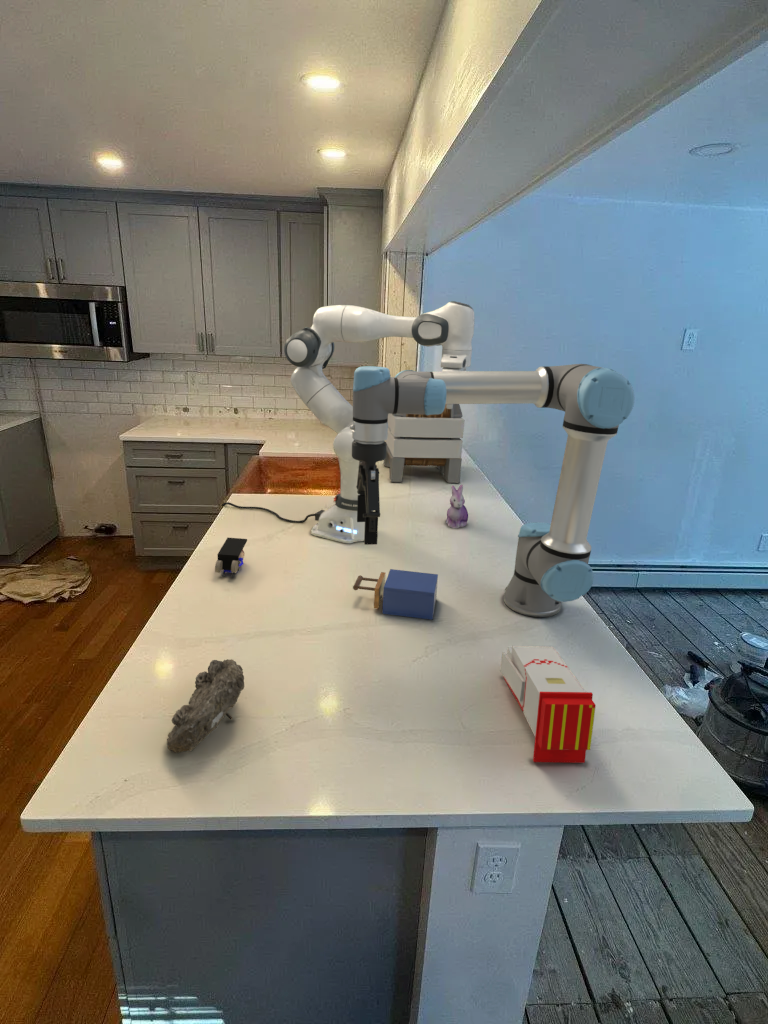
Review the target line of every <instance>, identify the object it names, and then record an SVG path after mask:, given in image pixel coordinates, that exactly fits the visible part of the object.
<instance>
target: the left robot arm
mask: <svg viewBox="0 0 768 1024" xmlns="http://www.w3.org/2000/svg"><path fill="white" fill-rule="evenodd" d="M474 334H475V310H474V308H473V307H472V306H471V305H470V304H467V303H463V302H461V301H460V302H459V301H455V300H451V301H449V302H447V303H446V304H445V305H443V306H441V307H438V308H436V309H434V310H431V311H427V312H424V313H421V314H419V315H418V316H404V315H403V316H402V315H392V314H388V313H384V312H380V311H377V310H374V309H372V308H367V307H363V306H359V305H352V304H332V305H325V306H321V307H319V308H317V309H316V311H314V313H313V317H312V325H311V326H310V327H309V326H305V327H303V328H301V329H299V330H298V331H296V332H295V333H293V334H291V335H290V336H289V337H288V338H287V339H286V341H285V343H284V347H283V351H284V356H285V358H286V360H287V361H288V362H289V363H290V365H293V366H295V367H296V368H295V369H294V370H293V371H292V373H291V375H290V384H291V386H292V388H293V389H294V391H295V392H296V394H297V396H298V397H299V398H300V400H301V401H302V402H303V404H304V405H305V406H306V407H307V408H308V410H309V411H310V412H311V413H312V414H313V415H314V417H316V419H317V420H318V421H319V422H320V423H321V424H322V425H323V426H325V427H327V428H329V429H330V430H332V431H334V432H335V433H336V436H335V437H334V439H333V443H332V446H333V447H332V449H333V451H334V454H335V455H336V457H337V462H338V466H339V473H340V490H339V491H338V492H337V494H336V495H335V496H334V497H333V502H334V504H333V505H331V506H329V507H328V508H326V509H321V510H318V511H317V512H315V513H310V514H307V515H306V516H305V517H304V519H302V520H292V519H288V518H284V517H282V516H280V515H279V514H278V513H277V512H275V511H274V510H271V509H269V508H266V507H262V506H242V505H241V506H240V505H237V504H234V503H232V502H229V501H228V502H227V501H226V502H223V503H222V504H221V506H222V507H225V506H226V505H228V506H231V507H233V508H235V509H241V510H259V511H265V512H269V513H270V514H273V515H275V516H276V518H278V519H279V520H281V521H283V522H287V523H293V524H303V523H306V522H307V521H308V519H309V518H311V517H314V521H316V522H317V523H315V524H314V525H313V526H312V528H311V530H310V533H311V536H315V537H319V538H323V539H326V540H330V541H336V542H339V543H343V544H352V543H357V542H364V535H365V522H357V500H358V495H360V494H358V493H357V491H358V489H357V488H356V486H357V479H358V470H359V468H358V467H359V461H358V460H355V459H354V458H353V457H352V442H353V441H354V439H353V438H352V431H353V430H351V429H350V425H354V424H353V404H351V403H350V402H349V401H348V400H346V399H345V397H344V396H343V395H342V394H341V392H339V390H338V389H337V388H336V387H335V385H333V383H332V382H331V381H330V380H329V378H327V376H326V375H325V374H324V371H323V370H324V369H326V368H327V365H328V363H329V361H330V360H331V358H332V356H333V355H334V352H335V343H348V344H359V343H366V342H371V341H376V340H381V339H384V338H393V337H395V338H408V339H409V338H411V339H412V338H413V340H414V341H415V342H416V343H417V344H418V345H420V346H423V347H426V348H427V347H435V346H437V347H439V346H442V349H441V360H440V368H442V369H441V371H467V368H469V367H470V368H471V367H472V356H473V346H472V345H473V343H472V342H473V338H474V336H475V335H474ZM446 407H447V409H452V408H453V404H447V406H446Z"/></svg>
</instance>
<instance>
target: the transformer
mask: <svg viewBox="0 0 768 1024" xmlns="http://www.w3.org/2000/svg"><path fill="white" fill-rule="evenodd" d="M446 406H447V404H446V405H445V409H444V411H443V412H442V413H441V414H435V415H421V414H388V431H387V440H385V442H386V443H387V449H386V458H385V459H384V460H383V466H384V467H388V468H389V475H388V476H389V477H388V478H389V480H390V482H391V483H402V482H403V475H404V469H405V466H406V467H407V466H411V467H412V466H413V467H415V466H416V467H417V466H418V467H436V468H437V470H438V469H439V473H440V474H441V475H443V478H444V479H445V481H446V482H447V483H449V484H455V483H456V484H459V483H461V472H462V461H463V460H462V453H463V442H464V441H463V440H462V439H463V438H464V431H465V430H464V429H465V419H464V418H463V411H462V408H461V404H453V408H452V409H447V407H446Z"/></svg>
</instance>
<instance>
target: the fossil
mask: <svg viewBox="0 0 768 1024" xmlns="http://www.w3.org/2000/svg"><path fill="white" fill-rule="evenodd" d="M243 670H244V669H243V667H242V665H240V664H237V662H236V661H235V660H234V659H232V658H231V659H227V658H226V659H224V660H223V661H222V660H217V659H212V660H211V661H210V663H209V665H208V666H207V671H201V672H199V673H198V674H197V675H196V676H195V680H194V684H195V685H194V687H195V689H194V690H193V693H192V694H191V697H190V698H189V700H188V704H184V705H182V706H181V707H180V709H177V710H176V711H175V713H174V715H173V716H172V718H171V723H172V724H173V727H172V730H171V731H170V732H168V734H167V738H166V741H167V742H166V745H167V749H168V750H169V751H173V752H174V753H176V754H178V753H182V752H188V751H189V752H192V751H193V750H195V748H196V747H197V746H199V744H200V743H201V742H203V741H204V740H205V739H206V738H207V737H208V736H209V735H210V734H211V733H212V732H214V730H215V729H217V727H218V726H219V724H220V722H221V721H222V720H223V719H224V718H225V716H226V717H227V719H229V720H233V717H232V715H230V714H229V710H230V709H231V708H234V706H235V704H236V703H237V702H238V699H239V697H240V695H241V693H242V691H243V690H245V689H244V688H245V675H244V671H243Z"/></svg>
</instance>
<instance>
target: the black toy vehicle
mask: <svg viewBox="0 0 768 1024" xmlns="http://www.w3.org/2000/svg"><path fill="white" fill-rule="evenodd" d="M247 542H248V538H240V537H226V539H225V541H224V543H223V544H222V546H221V547H220V549H219V551H218V552H217V560H216V562H215V564H214V572H215V573H221V577H222V578H224V577H225V576H226V574H227V573H230V574H231V573H232V574H231V578H234V577H235V575H236V573H237V572H239V571H240V567H242V566H243V565H244V564H245V562H244V558H245V551H244V547H245V546H246V544H247Z"/></svg>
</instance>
